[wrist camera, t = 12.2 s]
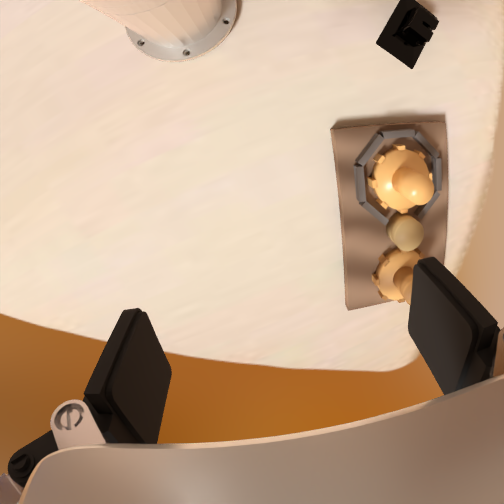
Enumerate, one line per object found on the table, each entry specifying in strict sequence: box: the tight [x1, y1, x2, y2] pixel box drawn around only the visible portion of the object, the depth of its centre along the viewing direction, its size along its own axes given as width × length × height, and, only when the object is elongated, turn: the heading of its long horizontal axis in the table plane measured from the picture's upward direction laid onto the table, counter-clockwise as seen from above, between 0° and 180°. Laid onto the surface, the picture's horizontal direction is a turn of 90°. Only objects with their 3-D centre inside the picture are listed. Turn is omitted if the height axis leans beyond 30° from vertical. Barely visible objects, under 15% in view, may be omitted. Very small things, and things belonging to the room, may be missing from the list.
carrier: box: [330, 121, 448, 311], centre depth 36 cm, size 24×15×8 cm, turn 10°
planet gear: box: [367, 144, 434, 214], centre depth 33 cm, size 8×8×6 cm
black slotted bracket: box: [376, 0, 439, 69], centre depth 27 cm, size 12×7×5 cm, turn 153°
